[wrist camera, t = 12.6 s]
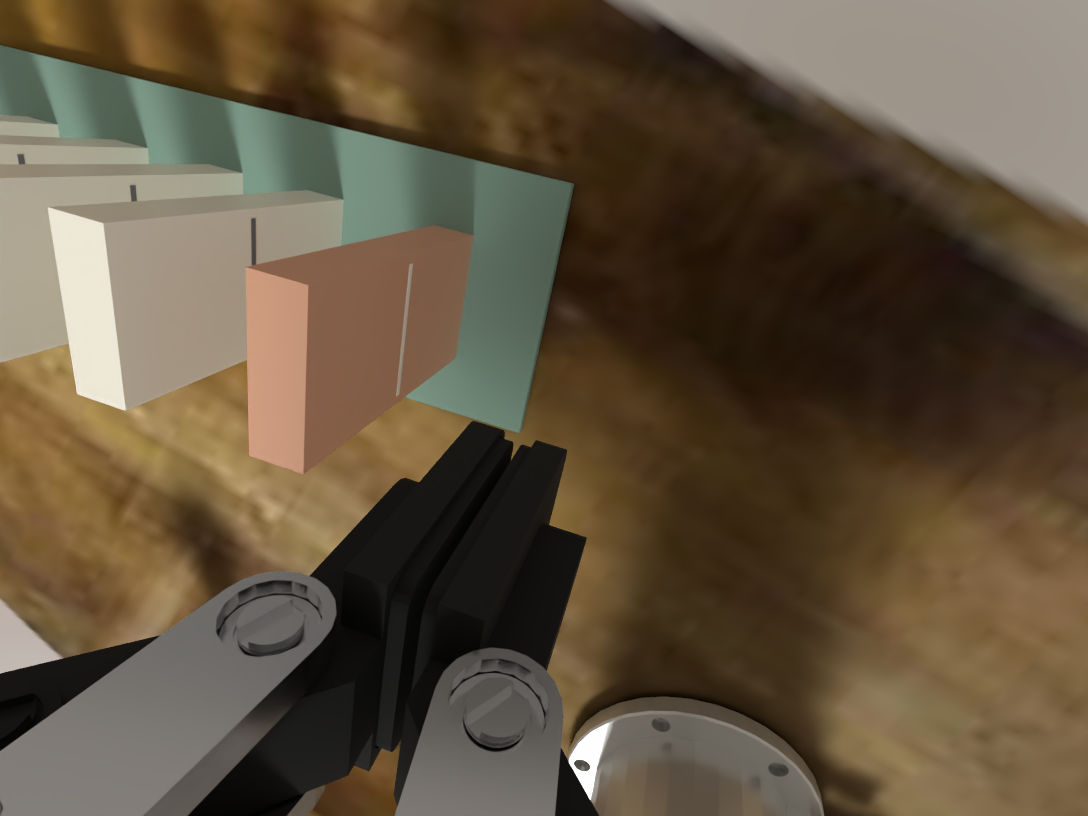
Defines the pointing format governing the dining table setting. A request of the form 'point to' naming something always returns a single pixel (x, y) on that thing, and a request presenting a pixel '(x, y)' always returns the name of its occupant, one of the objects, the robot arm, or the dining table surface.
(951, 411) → the dining table surface
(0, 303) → the domino
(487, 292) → the felt mat
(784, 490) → the dining table surface
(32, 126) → the domino
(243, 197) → the domino
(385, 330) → the salmon pink domino
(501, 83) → the dining table surface
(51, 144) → the domino
